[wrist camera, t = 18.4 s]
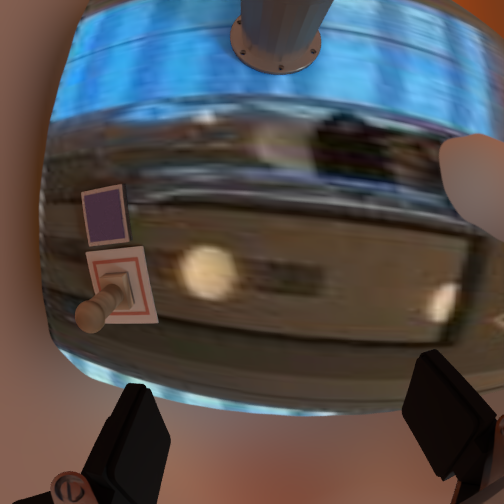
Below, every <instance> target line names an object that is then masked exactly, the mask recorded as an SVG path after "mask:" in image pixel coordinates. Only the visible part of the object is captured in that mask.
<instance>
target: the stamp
mask: <svg viewBox="0 0 504 504" xmlns="http://www.w3.org/2000/svg"><path fill="white" fill-rule="evenodd" d="M99 282H100V287H101V291H100V292H99V293H97V294H96V295H95V296H94V297H93V298H91V299H90V300H89V301H84V302H82V303H81V304H80V305H79V306H78V307H77V309H76V312H75V320H76V323H77V325H78V326H79V328H80V329H82V330H83V331H85V332H87V333H96V332H98V331H99V330H101V329H102V327H103V326H104V324H105V319H106V318H107V317H108V316H109V315H110V314H111V313H112V312H113V311H114V310H130V309H131V307H132V306H133V305H134V304H135V300H134V296H133V292H132V287H131V283H130V278H129V273H128V272H116V273H105V274H104V275H103V276H101V277H100V278H99Z"/></svg>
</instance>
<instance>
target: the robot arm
mask: <svg viewBox="0 0 504 504" xmlns="http://www.w3.org/2000/svg"><path fill="white" fill-rule="evenodd" d="M333 1H334V0H241V15H240V16H239V17H238V18H237V19H236V20H235V22H234V24H233V25H232V28H231V31H230V41H231V45H232V48H233V51H234V52H235V54H236V56H237V57H238V58H239V59H240V60H241V61H242V62H243V63H245V64H246V65H247V66H249V67H251V68H253V69H255V70H257V71H260V72H263V73H267V74H273V75H286V74H292V73H296V72H299V71H301V70H303V69H305V68H307V67H308V66H309V65H310V64H312V63H313V61H314V60H315V59H316V58H317V56H318V54H319V52H320V48H321V36H320V33H319V30H318V29H319V27H320V25H321V23H322V21H323V20H324V18H325V16H326V14H327V12H328V10H329V8H330V6H331V4H332V3H333ZM240 24H241V25H240ZM312 53H313V54H312ZM241 54H245V55H241ZM279 69H282V70H279ZM402 415H403V417H404V419H405V421H406V422H407V424H408V426H409V428H410V429H411V431H412V433H413V435H414V436H415V438H416V440H417V442H418V443H419V445H420V447H421V449H422V451H423V452H424V454H425V456H426V458H427V460H428V461H429V463H430V465H431V467H432V469H433V471H434V472H435V474H436V476H438V477H441V479H442V481H445V480H447V479H449V478H451V477H453V476H454V475H456V477H457V479H458V480H457V484H456V488H455V491H454V494H453V497H452V500H451V503H450V504H504V415H502V416H501V417H499V419H498V420H496V419H495V417H496V416H497V414H496V413H495V412H494V411H493V410H492V409H491V407H490V406H489V405H488V404H487V403H486V402H485V401H484V399H483V398H482V397H481V396H480V395H479V394H478V393H477V392H476V390H475V389H474V388H473V387H472V386H471V385H470V384H469V383H468V382H467V381H466V380H465V378H464V377H463V376H462V375H461V374H460V373H459V372H458V371H457V370H456V369H455V368H454V367H453V366H452V365H451V364H450V363H449V362H448V361H447V359H446V358H445V357H444V356H443V355H442V354H441V353H440V352H439V351H438V350H436V349H433V350H430V351H427V352H423V353H421V355H420V357H419V358H418V359H417V361H416V364H415V368H414V371H413V375H412V378H411V382H410V385H409V388H408V392H407V395H406V398H405V401H404V404H403V407H402ZM170 443H171V439H170V435H169V432H168V430H167V428H166V426H165V423H164V421H163V419H162V416H161V414H160V412H159V409H158V407H157V404H156V402H155V399H154V397H153V394H152V392H151V390H150V389H149V388H146V386H145V385H144V384H136V383H128V384H127V385H126V387H125V389H124V391H123V392H122V394H121V396H120V398H119V400H118V402H117V404H116V406H115V408H114V410H113V412H112V414H111V416H110V417H108V419H107V420H106V422H105V424H104V426H103V428H102V430H101V432H100V434H99V436H98V438H97V440H96V442H95V444H94V446H93V448H92V451H91V453H90V455H89V457H88V459H87V461H86V463H85V466H84V468H83V470H82V472H81V474H79V473H77V472H73V471H67V472H63V473H60V474H58V475H57V476H56V477H55V478H54V479H53V481H52V482H51V488H50V489H51V491H49V492H45V493H43V494H39V495H36V496H33V497H29V498H26V499H21V500H18V501H16V502H14V503H12V504H157V499H158V495H159V491H160V486H161V481H162V477H163V473H164V469H165V465H166V461H167V456H168V452H169V448H170Z"/></svg>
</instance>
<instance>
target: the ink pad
mask: <svg viewBox="0 0 504 504" xmlns="http://www.w3.org/2000/svg"><path fill="white" fill-rule="evenodd" d="M81 196H82V204H83V212H84V219H85V225H86V232H87V237H88V243H89V246H97V245H105V244H114V243H122V242H130V241H131V240H133V239H132V233H131V226H130V219H129V212H128V204H127V196H126V186H125V184H119V185H114V186H109V187H104V188H99V189H94V190H90V191H85V192H81Z"/></svg>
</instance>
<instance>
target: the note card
mask: <svg viewBox="0 0 504 504" xmlns="http://www.w3.org/2000/svg"><path fill="white" fill-rule="evenodd" d="M86 257H87V262H88V266H89V271H90V275H91V279H92V284H93V288H94V291H95V295H96V294H97V293H99V292H100V291H101V287H100V282H99V278H100V277H101V276H103V275H104V274H105V273H116V272H128V273H129V278H130V283H131V287H132V292H133V296H134V300H135V304H134V305H133V306H132V307H131V309H130V310H114V311H113V312H112V313H111V314H110V315H109V316H108V317H107V318H106V319H105V323H158V318H157V313H156V309H155V305H154V300H153V295H152V291H151V286H150V281H149V276H148V271H147V265H146V260H145V254H144V248H143V246H136V247H126V248H117V249H108V250H99V251H90V252H86Z"/></svg>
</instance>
